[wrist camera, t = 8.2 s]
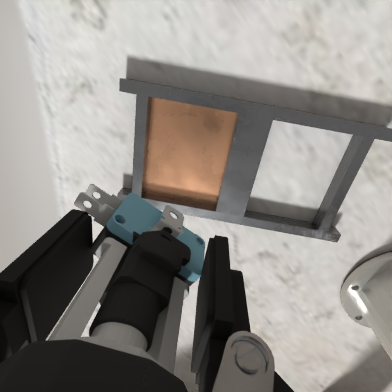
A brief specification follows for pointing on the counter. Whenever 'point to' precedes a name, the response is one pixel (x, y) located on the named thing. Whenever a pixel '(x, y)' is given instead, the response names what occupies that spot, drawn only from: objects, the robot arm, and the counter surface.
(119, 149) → the counter surface
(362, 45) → the counter surface
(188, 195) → the rail
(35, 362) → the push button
